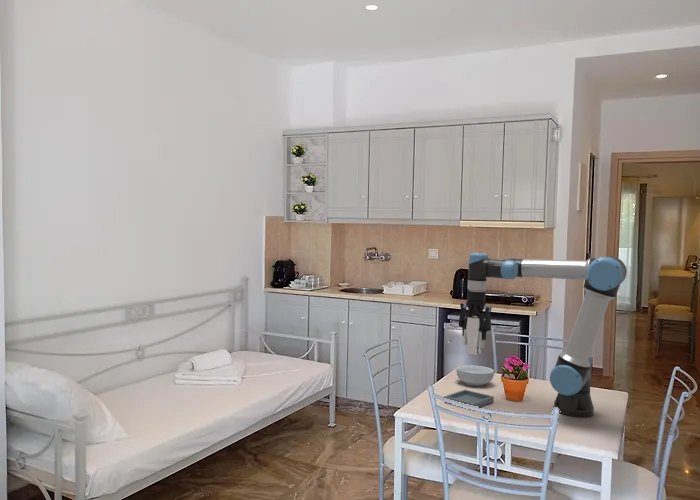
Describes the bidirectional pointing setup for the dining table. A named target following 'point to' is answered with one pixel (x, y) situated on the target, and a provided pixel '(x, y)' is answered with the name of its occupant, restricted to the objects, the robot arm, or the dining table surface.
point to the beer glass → (473, 335)
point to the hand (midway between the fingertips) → (473, 345)
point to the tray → (471, 398)
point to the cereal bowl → (475, 375)
